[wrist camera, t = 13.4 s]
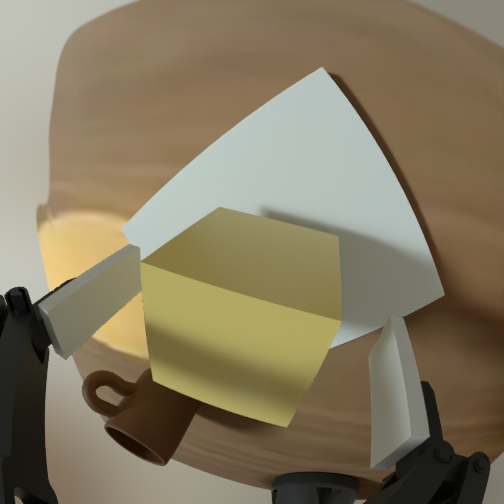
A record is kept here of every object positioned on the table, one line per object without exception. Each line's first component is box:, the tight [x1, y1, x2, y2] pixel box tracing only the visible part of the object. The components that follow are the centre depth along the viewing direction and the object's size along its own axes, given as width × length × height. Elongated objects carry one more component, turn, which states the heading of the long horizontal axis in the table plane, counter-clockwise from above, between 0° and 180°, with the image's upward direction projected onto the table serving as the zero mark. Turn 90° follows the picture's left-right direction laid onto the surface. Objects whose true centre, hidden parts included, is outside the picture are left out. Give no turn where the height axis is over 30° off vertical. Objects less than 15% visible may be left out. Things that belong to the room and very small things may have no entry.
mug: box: [82, 368, 199, 466], centre depth 24 cm, size 12×8×9 cm, turn 37°
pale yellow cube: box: [140, 207, 342, 427], centre depth 12 cm, size 6×6×7 cm
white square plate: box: [121, 67, 445, 349], centre depth 14 cm, size 18×16×9 cm
